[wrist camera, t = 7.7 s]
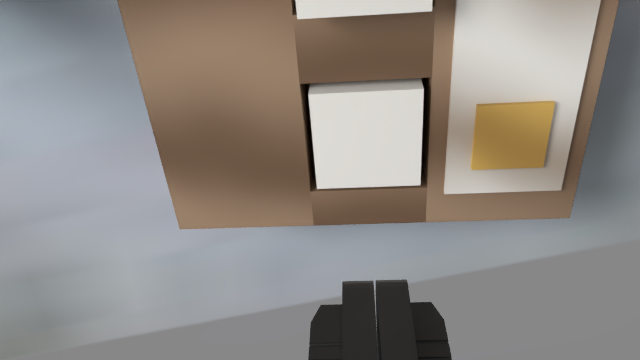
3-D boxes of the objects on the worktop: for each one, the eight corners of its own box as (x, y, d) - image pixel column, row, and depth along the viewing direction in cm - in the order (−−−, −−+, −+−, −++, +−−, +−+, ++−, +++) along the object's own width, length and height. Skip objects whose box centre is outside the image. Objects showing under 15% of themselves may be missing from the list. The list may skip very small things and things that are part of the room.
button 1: (311, 72, 20) (308, 94, 19) (417, 67, 20) (423, 88, 18) (319, 162, 23) (316, 188, 21) (415, 158, 22) (420, 185, 21)
